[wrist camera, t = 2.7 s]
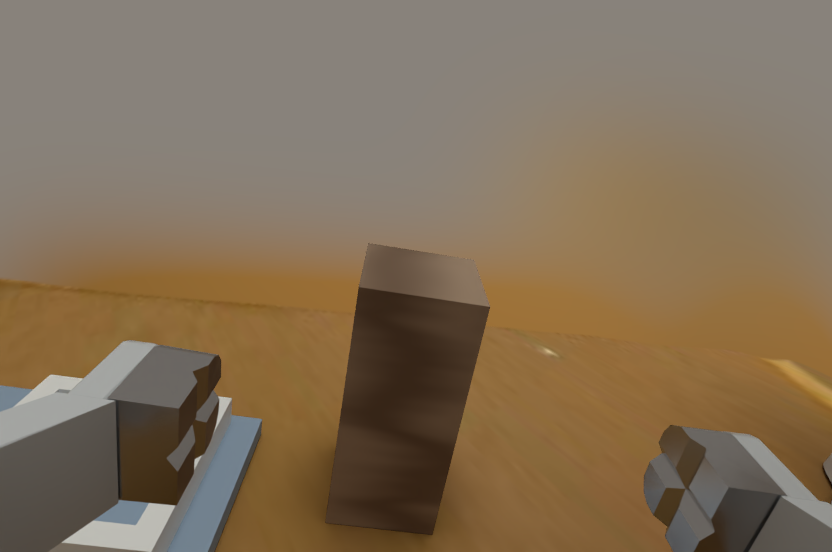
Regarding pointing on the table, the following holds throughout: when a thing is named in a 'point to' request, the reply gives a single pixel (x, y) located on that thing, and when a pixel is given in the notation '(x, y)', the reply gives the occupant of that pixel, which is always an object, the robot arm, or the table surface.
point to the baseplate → (158, 523)
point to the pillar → (405, 387)
